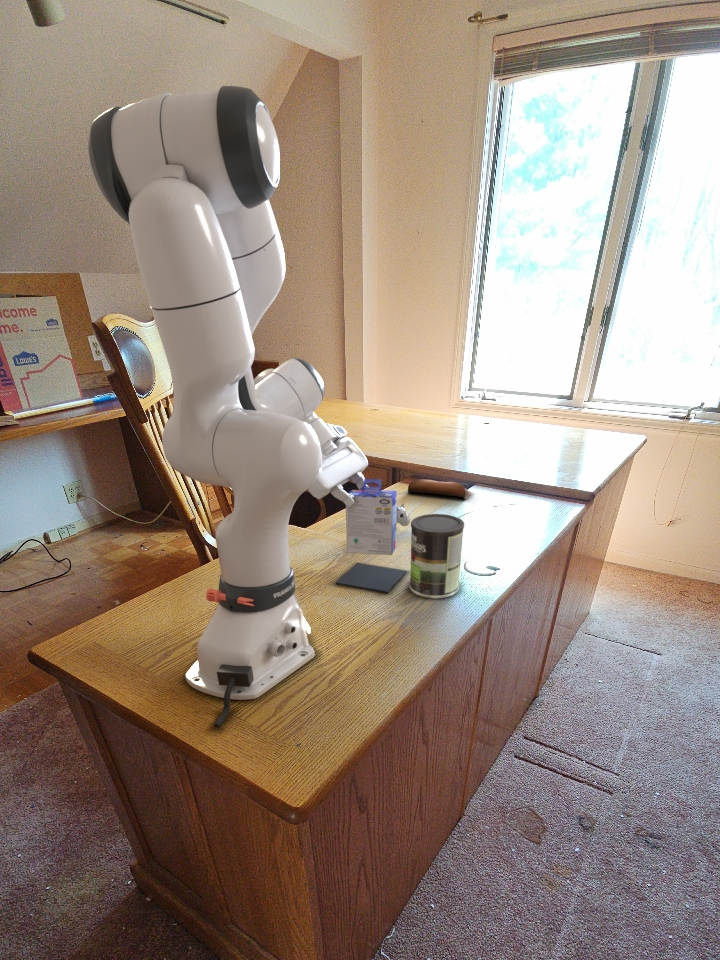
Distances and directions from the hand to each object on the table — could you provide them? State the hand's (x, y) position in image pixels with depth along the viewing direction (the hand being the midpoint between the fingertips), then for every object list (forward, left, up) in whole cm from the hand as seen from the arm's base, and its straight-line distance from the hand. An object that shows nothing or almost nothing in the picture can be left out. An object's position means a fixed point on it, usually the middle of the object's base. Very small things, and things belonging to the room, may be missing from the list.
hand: (360, 499), depth 113 cm
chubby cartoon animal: (+27, +5, -17) cm, 32 cm away
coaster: (-1, -2, -17) cm, 17 cm away
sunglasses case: (+62, +2, -17) cm, 64 cm away
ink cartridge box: (0, -2, -11) cm, 11 cm away
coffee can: (0, -16, -17) cm, 24 cm away
